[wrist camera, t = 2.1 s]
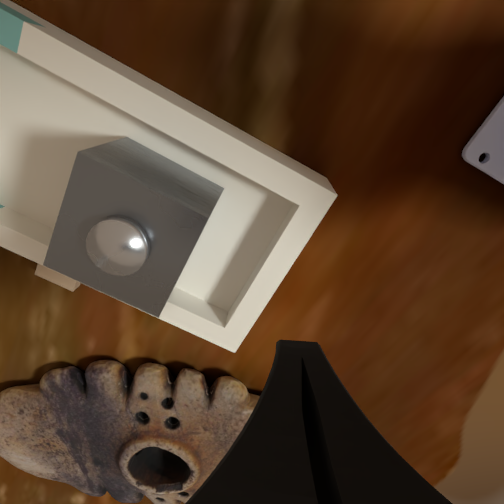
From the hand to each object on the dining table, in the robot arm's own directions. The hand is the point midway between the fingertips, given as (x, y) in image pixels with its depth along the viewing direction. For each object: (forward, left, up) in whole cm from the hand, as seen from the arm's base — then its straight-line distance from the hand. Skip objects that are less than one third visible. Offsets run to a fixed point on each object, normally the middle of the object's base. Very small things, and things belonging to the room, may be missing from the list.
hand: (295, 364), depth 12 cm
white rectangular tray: (+11, +2, -9) cm, 15 cm away
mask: (+1, +18, -10) cm, 21 cm away
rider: (+7, 0, -8) cm, 10 cm away
